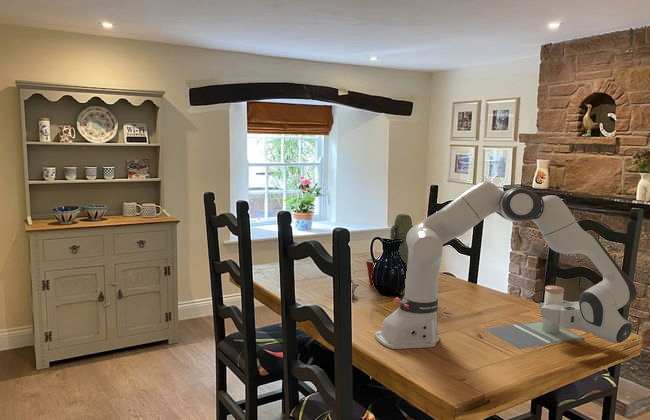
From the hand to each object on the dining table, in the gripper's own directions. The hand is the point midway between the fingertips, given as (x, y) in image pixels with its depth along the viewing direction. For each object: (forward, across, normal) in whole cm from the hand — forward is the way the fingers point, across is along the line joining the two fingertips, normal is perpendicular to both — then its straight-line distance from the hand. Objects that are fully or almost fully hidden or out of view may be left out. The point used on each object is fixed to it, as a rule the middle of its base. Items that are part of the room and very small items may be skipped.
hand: (551, 303), depth 186 cm
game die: (+61, +53, +11) cm, 82 cm away
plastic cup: (+73, +33, +11) cm, 81 cm away
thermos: (+59, +28, +11) cm, 66 cm away
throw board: (-1, +8, +11) cm, 14 cm away
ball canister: (-1, 0, +10) cm, 10 cm away
